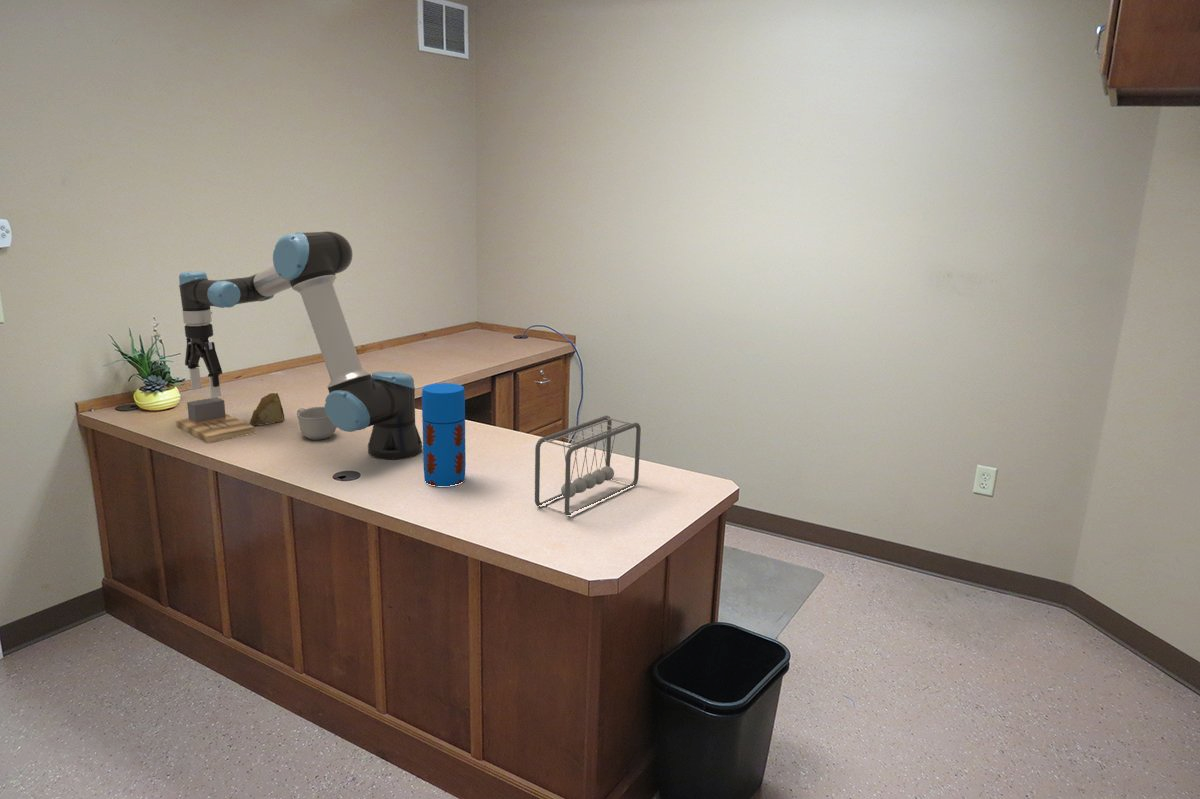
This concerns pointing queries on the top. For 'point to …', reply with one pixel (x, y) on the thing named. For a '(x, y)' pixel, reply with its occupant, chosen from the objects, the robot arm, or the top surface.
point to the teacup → (315, 423)
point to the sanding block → (206, 410)
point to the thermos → (443, 433)
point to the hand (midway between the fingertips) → (206, 393)
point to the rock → (268, 410)
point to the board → (216, 428)
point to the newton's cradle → (588, 479)
